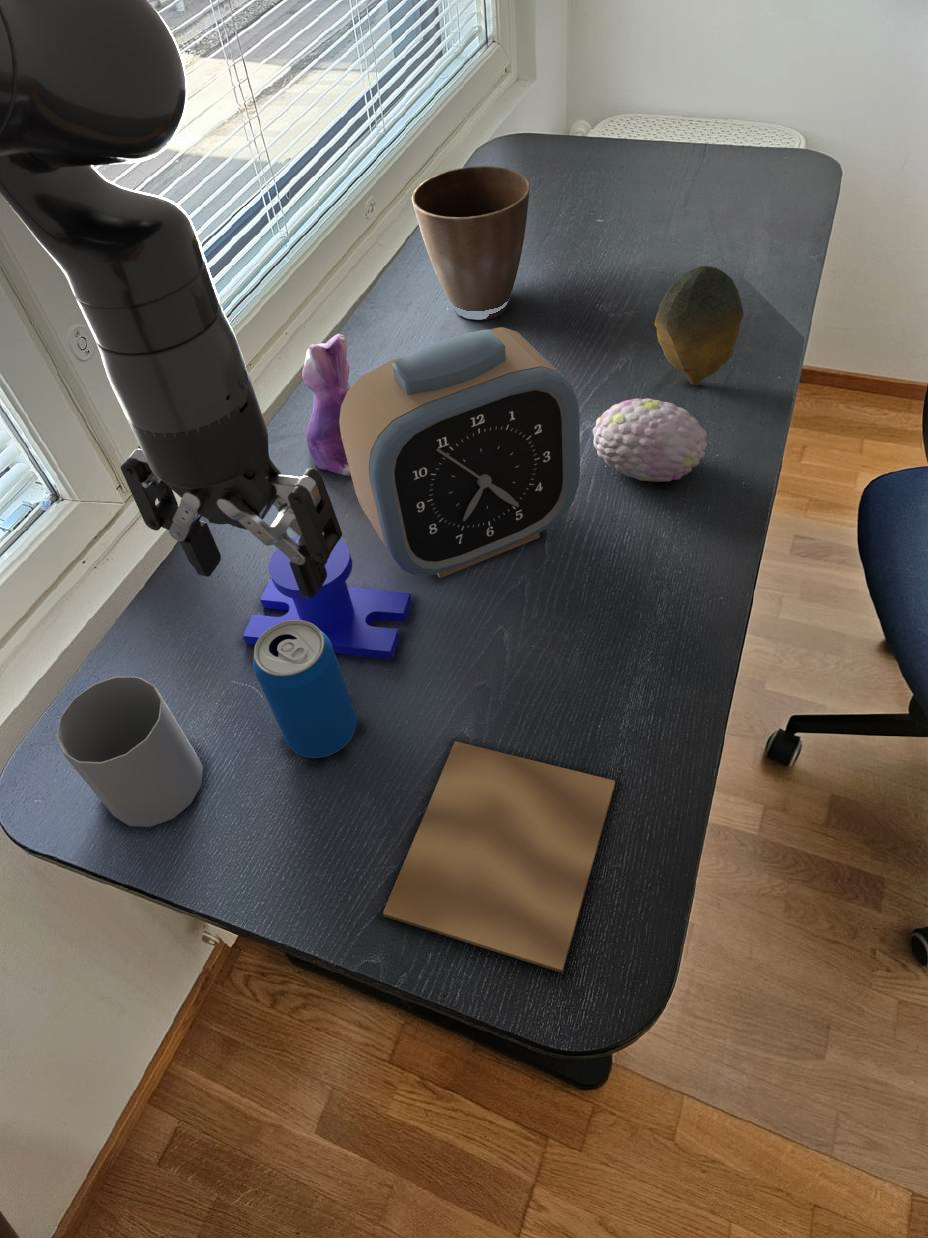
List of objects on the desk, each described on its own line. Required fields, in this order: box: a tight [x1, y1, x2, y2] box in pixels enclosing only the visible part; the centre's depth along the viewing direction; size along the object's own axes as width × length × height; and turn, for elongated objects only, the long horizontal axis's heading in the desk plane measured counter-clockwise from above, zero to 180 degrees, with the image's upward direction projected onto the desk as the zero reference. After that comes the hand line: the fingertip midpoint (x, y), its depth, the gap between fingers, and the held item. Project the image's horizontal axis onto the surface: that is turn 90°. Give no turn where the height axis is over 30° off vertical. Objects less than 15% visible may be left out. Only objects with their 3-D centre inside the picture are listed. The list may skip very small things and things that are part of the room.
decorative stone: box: [654, 265, 745, 386], centre depth 102 cm, size 10×6×15 cm, turn 73°
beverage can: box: [252, 620, 358, 759], centre depth 75 cm, size 6×6×12 cm
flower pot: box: [411, 165, 531, 321], centre depth 118 cm, size 15×15×16 cm
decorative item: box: [592, 397, 708, 483], centre depth 95 cm, size 9×11×10 cm
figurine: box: [301, 333, 352, 476], centre depth 100 cm, size 9×10×15 cm
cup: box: [55, 675, 204, 828], centre depth 74 cm, size 8×8×10 cm
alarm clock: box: [339, 327, 581, 579], centre depth 86 cm, size 21×10×22 cm, turn 115°
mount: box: [242, 534, 413, 661], centre depth 85 cm, size 15×8×9 cm, turn 78°
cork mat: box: [382, 740, 616, 974], centre depth 70 cm, size 16×14×1 cm
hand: (261, 578), depth 64 cm, fingers open, 8 cm apart
